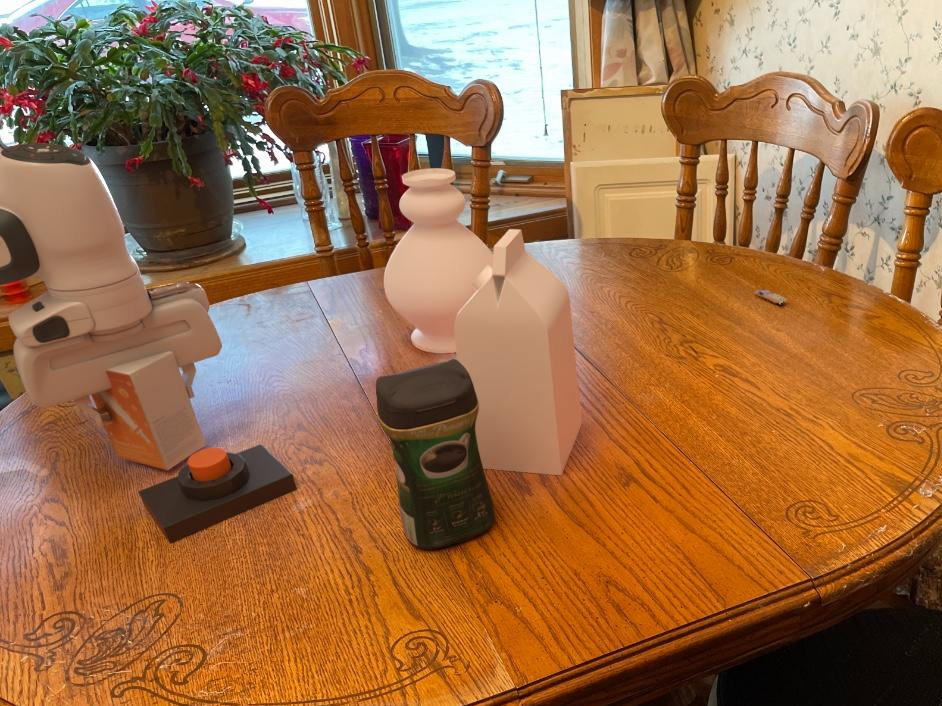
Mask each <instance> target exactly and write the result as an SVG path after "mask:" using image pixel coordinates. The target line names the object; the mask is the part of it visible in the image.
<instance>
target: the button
mask: <svg viewBox="0 0 942 706" xmlns="http://www.w3.org/2000/svg"><path fill="white" fill-rule="evenodd" d="M226 452H227V451H226V450H225V449H224V448H222V447H208V448H204V449H199V450H197V451H196V452H194V453H193V454H191V455H190V456H188V457H189V458H187V464H188V466H189V468H190V471H191V473H192V476H193V478H194V480H196V481H200V482H202V481H209V480H215V479H217V478H220V477H222V476H224V475H226V474H227V473H228V472H229V471H231V464H230V461H229V458H228V455H227V453H226Z"/></svg>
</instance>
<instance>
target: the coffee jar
mask: <svg viewBox="0 0 942 706" xmlns="http://www.w3.org/2000/svg"><path fill="white" fill-rule="evenodd" d="M375 395H376V415H377V419H378V422H379V425H380V427H381V429H382V430H383V432H384V433H385V435H386V436H387V437H388V439H389V442H390V445H391V449H392V454H393V455H392V456H393V461H394V466H395V475H396V484H397V496H398V507H399V514H400V520H401V525H402V530H403V532H404V535H405V536H406V539H408V541H409V542H410V544H411V545H413V546H415V547H417V548H418V549H419V548H420V549H423V550H425V551H429V550H438V549H442V548H446V547H450V546H453V545H456V544H457V545H458V544H459V543H463V542H465V541H468V540H471V539H473V538H475V537H479V536H480V535H483V534H484V533H486V532H487V531H488V530H490V529H491V528H492V526H493V524H494V523H495V520H496V513H495V506H494V503H493V498H492V494H491V491H490V487H489V483H488V481H487V477H486V474H485V469H483V466H482V462H481V458H480V454H479V450H478V445H477V439H476V430H475V424H476V419H477V415H478V411H479V402H478V399H477V395H476V392H475V389H474V385H473V383H472V380H471V377H470V375H469V373H468V371H467V370H466V368H465V367H464V366H463V365H462V364H461V363H460V362H459V361H458V360H457V358H451V359H449V360H446V361H442V362H436V363H432V364H428V365H425V366H420V367H417V368H411V369H408V370H404V371H400V372H396V373H395V372H394V373H392V374H389V375H381V376H378V377H377V378H376V380H375Z"/></svg>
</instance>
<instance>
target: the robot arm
mask: <svg viewBox="0 0 942 706" xmlns="http://www.w3.org/2000/svg"><path fill="white" fill-rule="evenodd" d="M102 175H103V174H101V171H100V170H99V168H98V167H97V165H96V163H94V162H93V160H92V159H91V158H90V157H89V156H88V155H86V154H85V153H84V152H82V151H80V150H78V149H75V148H73V147H70V146H68V145H67V146H66V145H62V144H55V143H46V142H45V143H44V142H43V143H42V142H40V143H39V142H35V143H19V144H15V145H11V146H7V144H5V142H3V141H2V140H1V139H0V286H2V285H7V284H11V283H15V282H18V281H22V280H24V279H27V278H30V277H38V278H40V279H41V280H42V281H43V283H44V285H45V287H46V289H47V291H46V292H43V293H42V294H40V295H39V296H36V297H35V298H33V299H32V300H30V301H29V302H27V303H25V304H23V305H21V306H20V307H18V308H16V309H14V310H13V311H11V312H10V313H9V314H8V324H9V327H10V329H11V331H12V332H13V334H14V336H15V337H16V339H15V341H14V344H13V356H14V362H15V366H16V368H17V372H18V375H19V378H20V380H21V383H22V386H23V388H24V390H25V392H26V394H27V397H28V399H29V400H30V403H32V404H33V405H34V406H37V407H39V408H41V409H49V408H52V407H56V406H59V405H62V404H66V403H68V402H72V401H73V402H74V403H75V405H76V406H77V408H78V409H80V410H81V411H83V412H84V413H86V414H88V415H89V416H91V417H92V418H93V420H94V423H95V425H96V426H97V428H98V429H105V427H107V426H110V425H112V424H113V422H112V420H111V419H110V415H109V413H108V411H107V410H106V408H105V407H102V408H99V409H97V407H95V406H93V405H91V404H92V400H91V398H90V396H92V395H91V394H95V393H98V392H101V391H104V390H108V389H111V388H112V386H111V383H110V380H109V378H108V376H107V373H106V370H107V369H110V368H113V367H116V366H119V365H122V364H125V363H129V362H132V361H135V360H139V359H142V358H146V357H149V356H153V355H157V354H160V353H164V352H167V351H171V352H173V354H174V356H175V359H176V362H177V365H178V368H179V370H180V371H181V372H182V373H181V376H182V379H183V382H184V385H185V387H186V390H187V393H188V396H189V399H190V400H191V399H193V398H195V397H196V396H195V392H194V390H193V387H192V386H193V383H194V379H195V377H196V373H197V368H196V365H195V363H198V362H201V361H204V360H207V359H210V358H213V357H217V356H219V354H220V352H221V350H222V348H223V342H222V340H221V338H220V335H219V333H218V330H217V328H216V326H215V324H214V322H213V320H212V319H211V316H210V314H209V312H210V302H209V301H210V300H209V298H208V295H207V292H206V290H205V289H204V288H203V287H202V286H201V285H199V284H197V283H189V281H188V280H187V281H185V280H184V281H179V282H175V284H171V285H166V286H159V287H155V288H151V289H147V287H146V285H145V281H144V278H143V276H142V273H141V271H140V268H139V265H138V264H137V261H136V260H135V258H134V257H133V256H132V255H131V253H130V251H129V249H128V246H127V243H126V232H125V231H126V230H125V227H124V223H123V221H122V218H121V216H120V213H119V211H118V208H117V205H116V203H115V201H114V199H113V196H112V194H111V192H110V189H109V188H108V185H107V183H106V181H105V179H104V177H103V176H102Z"/></svg>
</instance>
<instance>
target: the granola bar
mask: <svg viewBox="0 0 942 706" xmlns="http://www.w3.org/2000/svg"><path fill="white" fill-rule="evenodd" d="M755 293H757V294H759V295H761V296H764V297H766V298H769V299H771V300H774V301H776V302H779V305H782V304H781V303H783V301H786V300H788V299H787V298H786V297H784V296H782V295H780V294H777V293H775V292H772V291H770V290H769V289H765V288H761V289H758V290H756V291H753V294H755ZM783 304H784V303H783Z"/></svg>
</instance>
